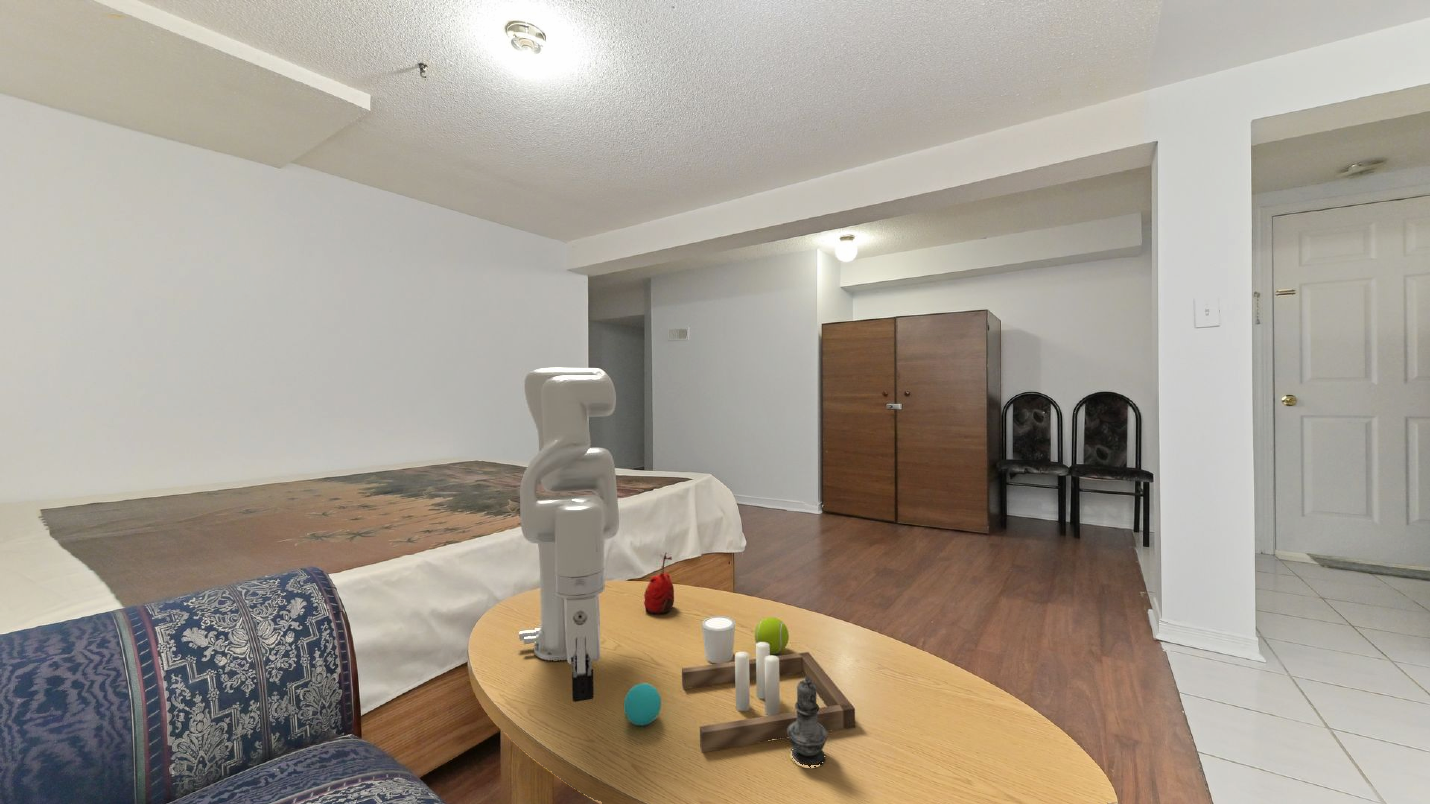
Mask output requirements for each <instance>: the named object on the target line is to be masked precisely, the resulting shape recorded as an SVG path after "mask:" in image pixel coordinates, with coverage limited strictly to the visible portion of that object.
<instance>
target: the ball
mask: <svg viewBox="0 0 1430 804" xmlns="http://www.w3.org/2000/svg"><path fill="white" fill-rule="evenodd" d="M660 695H661V694H660V693H659V691H658V689H657V688H656V687H654V685H652V684H650V683H645V682H643V683H638V684H636V685H634V686H632V687H631V689H629V691H628V692H627V694H626V695H625V698H624V700H623V701H624V703H623V709H624V713H625V716H626V718H627V719H628V721H629V722H631V723H632V724H634V725H635V726H646V725H649V724H651V723H653V722H654V721H655V719H656V718H657V717H658V716H659V713H660V710H661V705H662V701H661V696H660Z"/></svg>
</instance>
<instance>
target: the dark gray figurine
mask: <svg viewBox="0 0 1430 804" xmlns="http://www.w3.org/2000/svg"><path fill="white" fill-rule="evenodd" d="M808 679H809V678H808V677H807V676H806V677H805V676H804V678H803V680H801V681H799V682H798V683H797V685H796V695H797V696H796V699H797V700H796V702H795V704H794V709H795V711H797V721H796V722H793V723H792V724H790V726H789V727H788V729H787V734H788V736H789V738H788V739H789V741H790V744H791V746H792V748H790V750H791V751H792V756H793V758H794V759H795V760H796V761H797V762H799V763H800V764H802V765H803V764H804V765H808V766H809V767H810V766H811V765H819V764H820V765H822V764H823V763H822V762H825V763H826V760H825V759H827V758H825V757H824V756H826V754H824V753H825V752H824V751H823V749H824V747H825V744H826V741H827V740H828V735H829V734H828V732H827V731H826V729H825V728H824V727H823V726H822V725H820V724H819V723H818V722H817V712H818V711H819V708H820V706H819V704H818V703H817V692H816V686H815V684H814V683H813V682H811V681H809V680H808ZM792 749H793V750H792ZM793 758H792V759H793ZM794 762H795V761H794ZM823 765H824V764H823ZM823 765H822V766H823ZM814 767H816V766H814ZM810 768H811V767H810Z"/></svg>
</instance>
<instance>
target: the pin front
mask: <svg viewBox="0 0 1430 804" xmlns="http://www.w3.org/2000/svg"><path fill="white" fill-rule="evenodd" d="M749 660H750V654H749V653H748V652H747V651H738V652H736V653H734V662H735V682H734V683H735V687H734V688H735V709H736V710H737V711H739V712H747V711H750V708H751V702H750V701H751V699H750V698H751V697H750V696H751V695H750V693H751V692H750V690H751V689H750V680H749Z"/></svg>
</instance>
